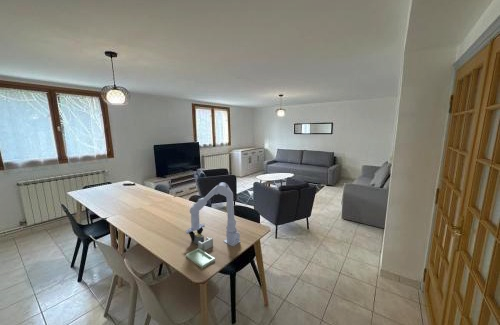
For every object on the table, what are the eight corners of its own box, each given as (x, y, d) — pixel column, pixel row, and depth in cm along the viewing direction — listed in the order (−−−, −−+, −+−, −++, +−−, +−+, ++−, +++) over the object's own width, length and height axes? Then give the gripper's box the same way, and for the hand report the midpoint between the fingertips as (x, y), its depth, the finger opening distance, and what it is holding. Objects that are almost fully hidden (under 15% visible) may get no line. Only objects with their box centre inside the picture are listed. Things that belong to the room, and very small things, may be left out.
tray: (215, 260, 123) (214, 258, 123) (202, 268, 116) (201, 266, 116) (198, 250, 134) (198, 247, 134) (186, 256, 127) (185, 254, 127)
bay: (212, 246, 139) (212, 238, 138) (203, 251, 133) (203, 243, 132) (207, 243, 143) (207, 235, 142) (198, 247, 137) (197, 239, 136)
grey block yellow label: (204, 243, 143) (203, 235, 142) (198, 245, 139) (198, 238, 139) (196, 238, 149) (196, 231, 148) (191, 241, 145) (191, 233, 144)
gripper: (200, 216, 151) (201, 233, 153) (183, 223, 140) (184, 241, 142) (206, 219, 147) (206, 236, 149) (188, 226, 136) (189, 245, 138)
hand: (195, 239), depth 145 cm, fingers closed on grey block yellow label, 5 cm apart
